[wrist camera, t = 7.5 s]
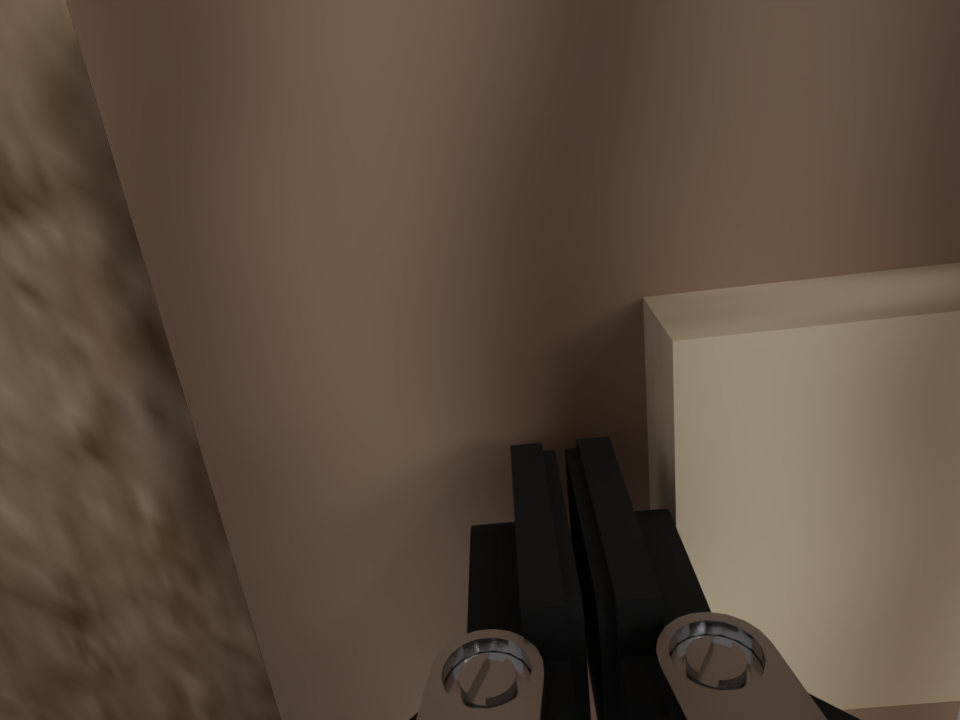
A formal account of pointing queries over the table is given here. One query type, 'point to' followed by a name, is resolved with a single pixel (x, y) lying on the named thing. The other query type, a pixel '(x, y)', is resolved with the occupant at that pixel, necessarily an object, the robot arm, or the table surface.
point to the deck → (480, 257)
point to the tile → (820, 470)
